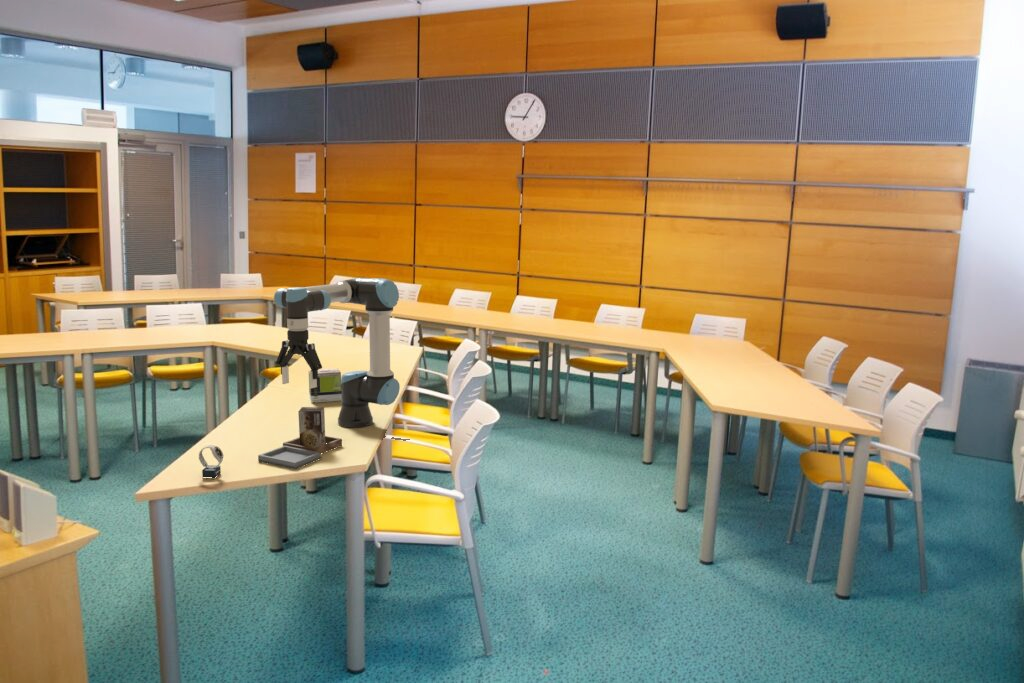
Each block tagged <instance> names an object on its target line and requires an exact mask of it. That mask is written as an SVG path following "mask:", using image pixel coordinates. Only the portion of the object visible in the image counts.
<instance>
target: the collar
mask: <svg viewBox="0 0 1024 683" xmlns="http://www.w3.org/2000/svg"><path fill="white" fill-rule="evenodd" d="M342 441H343V439H342V438H339V437H334V436H328V435H325V443H327V444H324V445H321V446H319V447H316V448H311V447H306V446H301V445H300V436H299V437H296V438H293V439H291V440H288V441H284V442H283V443H282V447H283V446H289V447H294V448H299V449H304V450H310V451H315V452H320V453H323V454H325V453H324V452H326V451H328V452H330V451H329V450H331V449H333V450H335V449H334V448H336V447H338V446H341V447H343V442H342ZM338 448H339V447H338ZM336 449H337V448H336ZM331 451H332V450H331ZM326 453H327V452H326Z"/></svg>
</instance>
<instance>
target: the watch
mask: <svg viewBox="0 0 1024 683" xmlns="http://www.w3.org/2000/svg"><path fill="white" fill-rule="evenodd" d="M205 449H210V451H211V454H212V455H213V457H214V458H215V460H217V462H218V464H216V465H213V464H212V465H211V464H210V465H209V464H208V462H207V460H205V458H204V456H203V451H204V450H205ZM223 459H224V453H223V450H222V449H221V448H220V447H219V446H216V445H213V444H210V445H206V446H205V447H203V448H201V449H200V451H199V452H198V460H199V462H200V464H201V466H202V467H203V469H202V471H201V472H202V474H201V475H202V476H201V477H202V478H203V477H212V478H215V477H216V476H217V475H219V474H220V473H222V470H221V464H222V463H223ZM220 475H221V474H220ZM220 475H219V476H220Z"/></svg>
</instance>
